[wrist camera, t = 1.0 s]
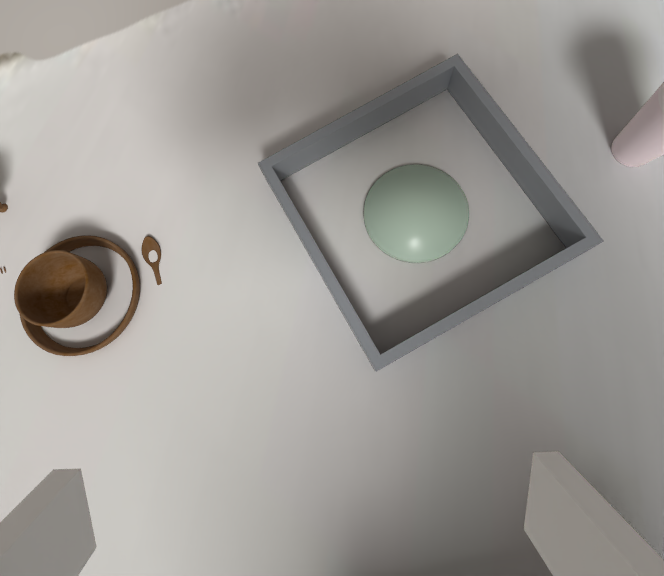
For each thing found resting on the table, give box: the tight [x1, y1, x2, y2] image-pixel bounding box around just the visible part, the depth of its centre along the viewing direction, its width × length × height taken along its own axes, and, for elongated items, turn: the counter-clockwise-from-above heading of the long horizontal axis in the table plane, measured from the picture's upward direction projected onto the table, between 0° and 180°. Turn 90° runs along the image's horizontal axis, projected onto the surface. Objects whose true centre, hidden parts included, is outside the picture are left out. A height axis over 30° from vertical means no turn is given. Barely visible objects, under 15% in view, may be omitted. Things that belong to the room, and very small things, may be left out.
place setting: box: [0, 202, 162, 356], centre depth 35 cm, size 18×20×6 cm
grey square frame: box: [258, 54, 603, 371], centre depth 34 cm, size 22×22×3 cm
